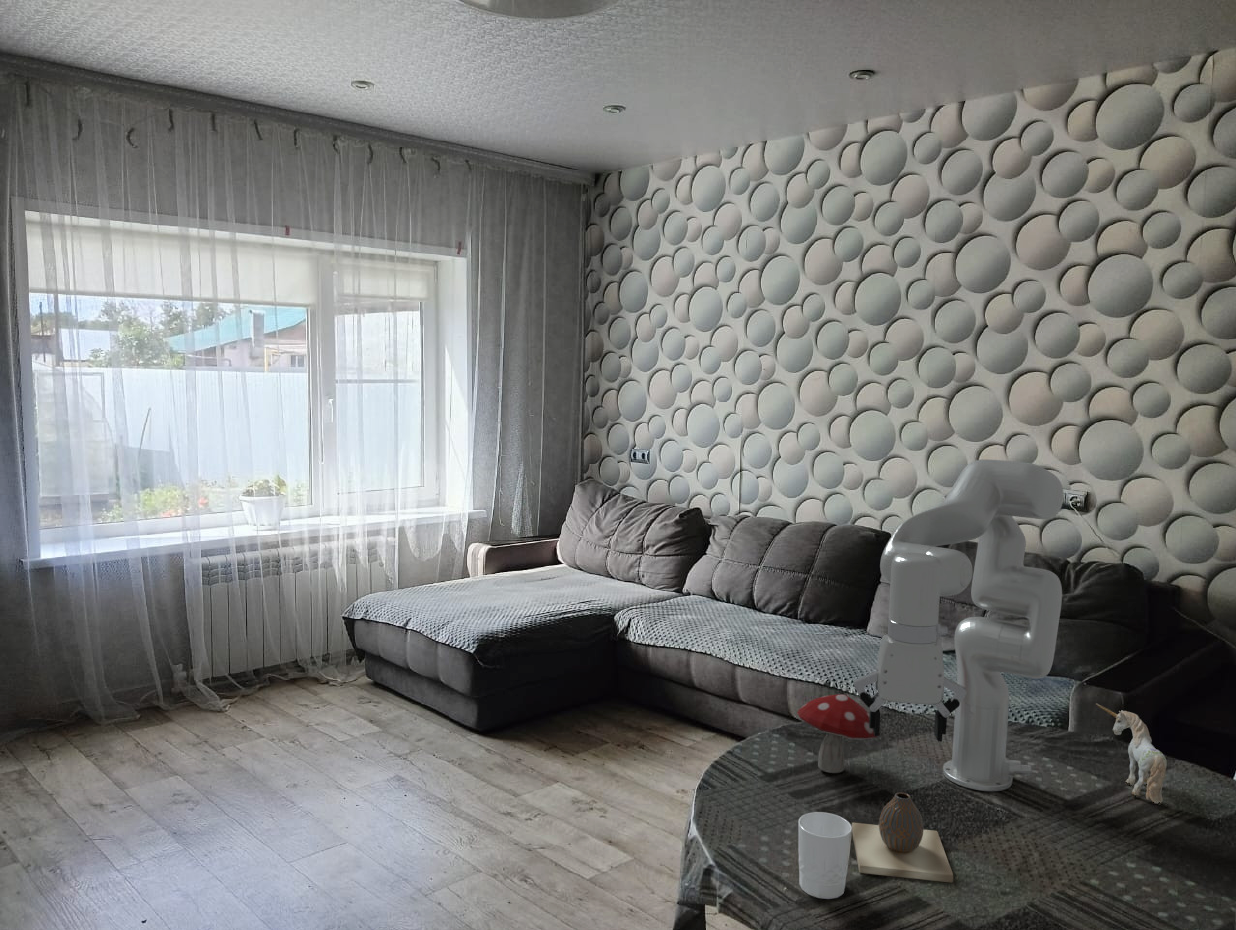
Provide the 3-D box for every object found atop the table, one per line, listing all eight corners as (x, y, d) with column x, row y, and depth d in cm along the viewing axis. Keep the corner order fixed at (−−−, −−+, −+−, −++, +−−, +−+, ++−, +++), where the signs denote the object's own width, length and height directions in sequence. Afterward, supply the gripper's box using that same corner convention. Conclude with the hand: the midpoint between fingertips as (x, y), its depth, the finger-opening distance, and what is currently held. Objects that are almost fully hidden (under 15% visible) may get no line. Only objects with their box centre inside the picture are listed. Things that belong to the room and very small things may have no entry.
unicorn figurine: (1124, 767, 187) (1129, 703, 185) (1189, 813, 168) (1196, 742, 166) (1090, 767, 186) (1095, 703, 185) (1151, 814, 167) (1158, 742, 166)
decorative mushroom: (798, 748, 192) (801, 678, 191) (877, 758, 188) (881, 687, 186) (791, 780, 177) (794, 704, 175) (877, 792, 173) (881, 715, 171)
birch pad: (936, 837, 157) (937, 830, 156) (952, 882, 143) (953, 875, 143) (851, 829, 159) (851, 822, 159) (859, 872, 145) (859, 865, 145)
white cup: (789, 873, 144) (792, 812, 143) (838, 872, 145) (842, 811, 144) (803, 902, 137) (806, 838, 136) (856, 901, 137) (859, 837, 136)
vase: (924, 860, 147) (928, 807, 146) (879, 855, 148) (882, 802, 147) (919, 839, 154) (922, 788, 153) (876, 834, 155) (879, 783, 154)
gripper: (964, 628, 149) (958, 730, 151) (854, 621, 152) (849, 722, 154) (974, 642, 142) (967, 749, 144) (858, 634, 145) (853, 740, 146)
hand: (906, 735), depth 149 cm, fingers open, 9 cm apart
